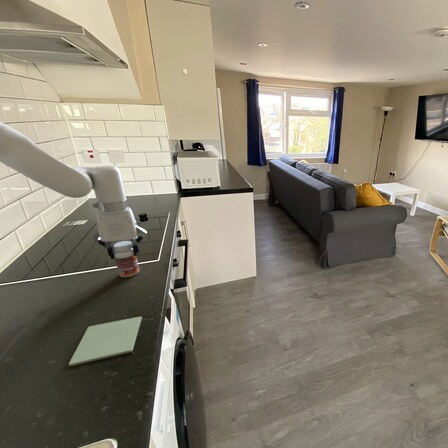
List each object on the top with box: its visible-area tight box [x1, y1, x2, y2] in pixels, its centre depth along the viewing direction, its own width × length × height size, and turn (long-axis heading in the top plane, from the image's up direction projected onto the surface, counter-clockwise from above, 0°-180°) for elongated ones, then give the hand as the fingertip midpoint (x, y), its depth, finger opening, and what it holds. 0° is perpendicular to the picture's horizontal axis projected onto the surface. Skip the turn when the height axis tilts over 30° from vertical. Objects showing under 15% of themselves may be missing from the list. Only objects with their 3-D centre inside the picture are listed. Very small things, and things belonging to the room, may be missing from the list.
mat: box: [68, 316, 143, 367], centre depth 64 cm, size 12×12×1 cm
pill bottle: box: [113, 240, 140, 278], centre depth 90 cm, size 6×6×11 cm
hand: (125, 255), depth 90 cm, fingers closed on pill bottle, 6 cm apart
